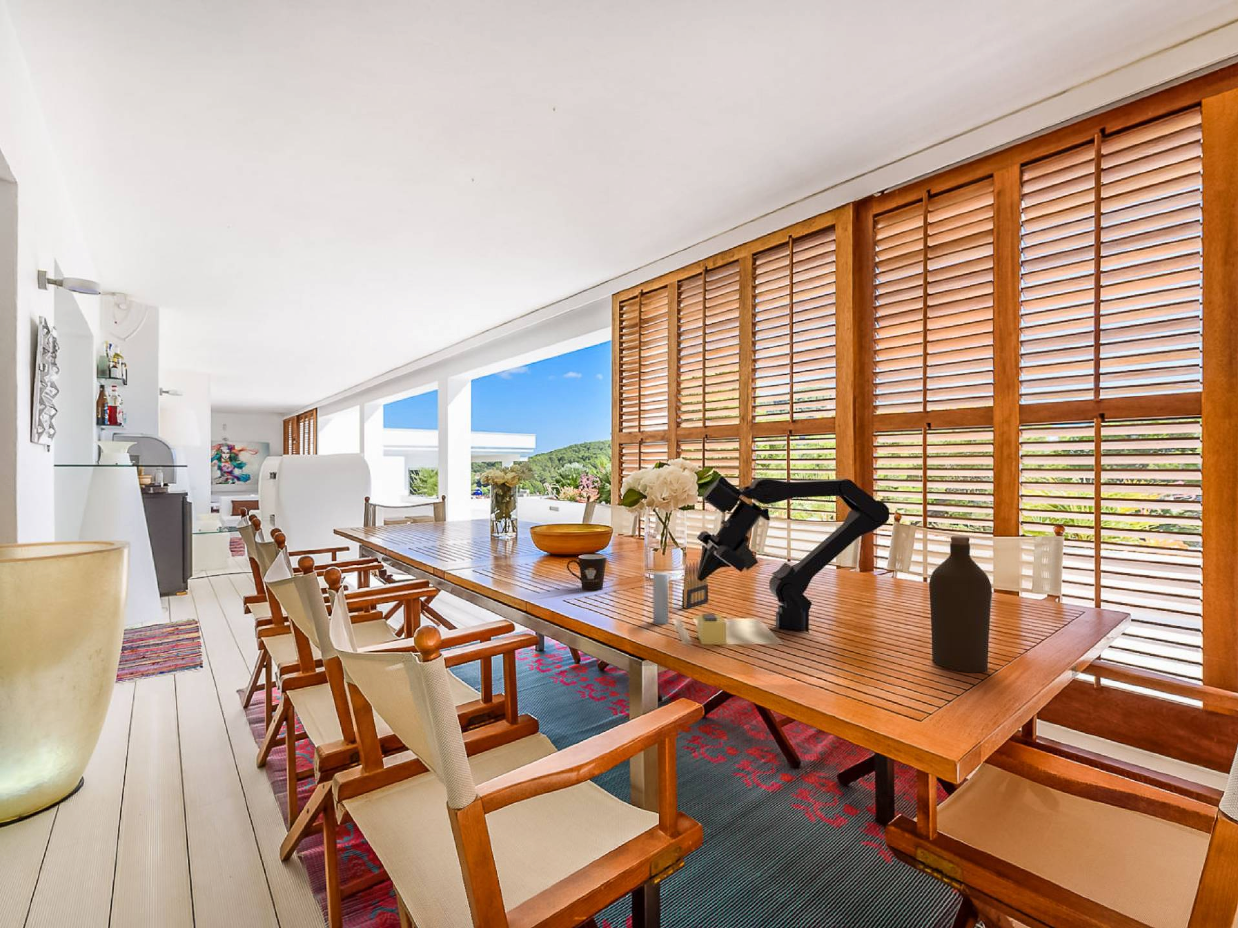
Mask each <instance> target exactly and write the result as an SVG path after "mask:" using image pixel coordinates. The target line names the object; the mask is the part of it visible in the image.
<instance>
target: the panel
mask: <svg viewBox="0 0 1238 928" xmlns="http://www.w3.org/2000/svg"><path fill="white" fill-rule="evenodd" d="M671 619H672V622H673V624H674V626H675V629H676V631H677V634H678V636H679V637H680V640H681V642H682V645H689V646H691V645H694V643H693V641H692V639H691V637H690V635H689V633H688V631H687V629H686V628H685V625H684V624H683V621H682V619H681V618H671ZM723 619H724V620H725V621H726V644H725V645H784V642H783V641H782V640H781V639H779V637H777V635H775V633H773V631H771V630H770V629H769V628H768V627H767V626H766V625H765V623H763V622H762V621H761V620H760V619H759V618H753V617H752V618H723ZM692 620H693V622H694V625H695V626H696V627H697V628H698V618H692Z"/></svg>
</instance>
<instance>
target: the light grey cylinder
mask: <svg viewBox="0 0 1238 928" xmlns="http://www.w3.org/2000/svg"><path fill="white" fill-rule="evenodd" d="M669 575H670V574H669V573H668V572H664V571H663V572H653V575H652V576H653V581H652V582H653V583H652V584H653V585H652V586H653V588H652V589H653V591H652V592H653V594H652V597H653V600H652V601H653V602H652V606H653V607H652V609H653V611H652V612H653V613H652V614H653V616H652V619H653V620H652V623H653V624H654V625H659V626H662V625H663V626H664V625H668V624H670V621H669V612H670V611H669V610H670V608H669V605H670V604H669V600H670V599H669V598H670V595H669V592H670V591H669V590H670V587H669V585H670V576H669Z"/></svg>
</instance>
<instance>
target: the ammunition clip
mask: <svg viewBox="0 0 1238 928" xmlns="http://www.w3.org/2000/svg"><path fill="white" fill-rule="evenodd" d="M699 565H700V562H698V561H696V562H692V563H691V562H690V563H689V565H688V563H686V564H685V567H684V577H683V588H682V596H681V597H682V601H681V602H682V603H681V604H682V605H681V607H682V609H685V608H686V609H685V610H690V609H693V608H695V607H698V605H699V606H701V605H704V604H707V603H709V584H708V577H707V578H705V579H704V580H703V581H699V580H698V579H697V575H698V570H699ZM692 607H693V608H692Z"/></svg>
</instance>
